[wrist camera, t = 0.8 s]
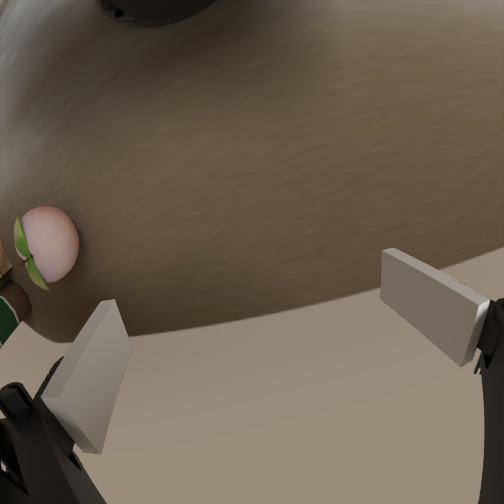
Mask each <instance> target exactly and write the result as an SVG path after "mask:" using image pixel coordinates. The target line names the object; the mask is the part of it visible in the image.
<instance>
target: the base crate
mask: <svg viewBox="0 0 504 504" xmlns="http://www.w3.org/2000/svg"><path fill="white" fill-rule="evenodd" d="M11 267H12V264H11V262H10V260H9V258H8V256H7V254H6V252H5V250H4V248H3V246H2V243H1V241H0V278H1V277H2V275H4V274H5V273H6V272H7V271H8V270H9V269H10V268H11Z"/></svg>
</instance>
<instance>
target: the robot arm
mask: <svg viewBox="0 0 504 504" xmlns="http://www.w3.org/2000/svg"><path fill="white" fill-rule="evenodd" d="M94 1H95V3H96V4H97V6H98V7H99V9H100V10H101V11H102V12H103V13H104V14H106V15H107V16H108V17H110V18H112V19H114V20H116V21H118V22H121V23H123V24H126V25H129V26H134V27H156V26H162V25H167V24H170V23H174V22H177V21H180V20H182V19H185V18H187V17H190V16H192V15H194V14H196V13H197V12H199V11H201V10H203V9H204V8H206V7H207V6H209V5H210V4H211V3H213V2H214V1H215V0H94ZM380 294H381V295H380V299H381V300H383V302H385V303H386V304H387V305H388V306H390V307H391V308H392V309H393V310H394V311H396V312H397V313H398V314H399V315H400V316H402V317H403V318H404V319H405V320H406V321H408V322H409V323H410V324H411V325H412V326H414V327H415V328H416V329H417V330H419V331H420V332H421V333H422V334H423V335H424V336H425V337H427V338H428V339H429V340H430V341H431V342H432V343H434V344H435V345H436V346H437V347H438V348H439V349H441V350H442V351H443V352H444V353H445V354H446V355H447V356H448V357H450V358H451V359H452V360H453V361H454V362H455V363H456V364H457V365H458V366H460V367H462V366H464V365H465V364H467V363H469V362H470V361H472V360H473V357H474V354H475V351H476V348H478V349H480V350H481V354H480V357H479V359H478V362H477V365H476V367H475V370H474V374H476V373H477V370H478V369H479V368H481V371H480V373H479V374H481V376H482V386H483V399H484V421H485V422H484V423H485V424H484V425H485V437H484V438H485V439H484V440H485V441H484V461H483V473H482V482H481V490H480V496H479V502H478V504H504V298H501V299H498V300H497V301H496V302H495V301H493V300H491V299H490V298H488V297H486V296H484V295H483V294H481V293H479V292H477V291H475V290H474V289H472V288H470V287H468V286H467V285H465V284H463V283H461V282H459V281H457V280H455V279H453V278H452V277H450V276H448V275H446V274H444V273H442V272H440V271H439V270H437V269H435V268H433V267H431V266H429V265H427V264H425V263H423V262H421V261H419V260H417V259H415V258H413V257H411V256H409V255H407V254H405V253H403V252H401V251H399V250H397V249H395V248H391V249H386V250H382V273H381V293H380ZM132 349H133V348H132V345H131V342H130V340H129V337H128V335H127V332H126V329H125V327H124V324H123V321H122V319H121V316H120V313H119V310H118V307H117V304H116V301H115V299H113V300H106V301H101V302H100V303H99V305H98V306H97V308H96V309H95V311H94V312H93V313H92V315H91V316H90V318H89V319H88V321H87V322H86V324H85V325H84V327H83V328H82V330H81V331H80V333H79V334H78V336H77V337H76V339H75V340H74V342H73V343H72V345H71V347H70V348H69V350H68V351H67V353H66V355H65V356H63V357H61V358H60V359H59V360H58V361H57V362H56V363H55V364H54V365H53V367H52V368H51V370H50V371H49V374H48V375H47V376H46V378H45V381H43V383H42V385H41V386H40V388H39V390H38V392H37V393H36V395H35V397H34V399H32V398H31V397H30V395H29V394H28V392H27V390H26V389H25V388H24V386H23V384H21V383H19V382H13V383H10V384H7V385H6V386H4V387H2V388H1V390H0V410H1V411H2V413H3V414H4V415H5V417H6V418H3V419H0V504H106V502H105V500H104V499H103V497H102V496H101V494H100V493H99V491H98V490H97V489H96V487H95V485H94V484H93V482H92V481H91V479H90V477H89V476H88V474H87V473H86V471H85V469H84V467H83V465H82V464H81V462H80V460H79V458H78V457H77V455H76V454H75V453H74V452H73V446H74V443H76V444H77V446H78V447H79V448H80V449H81V450H82V451H83V452H85V453H94V454H101V453H102V449H103V445H104V441H105V438H106V434H107V429H108V426H109V422H110V419H111V415H112V412H113V408H114V405H115V401H116V398H117V395H118V391H119V388H120V385H121V382H122V379H123V376H124V372H125V369H126V366H127V363H128V360H129V357H130V354H131V351H132ZM1 462H2V463H3V464H4V465H5V466H6V472H5V471H4V470H2V468H1Z"/></svg>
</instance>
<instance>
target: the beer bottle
mask: <svg viewBox="0 0 504 504" xmlns="http://www.w3.org/2000/svg"><path fill="white" fill-rule="evenodd" d="M30 310H31V305H30V302H29V299H28V296H27V295H26V293H25V292H24V291H23V290H22V288H21V287H20V286H19V285H18V284H16V283H14V282H12V281H7V282H6V283H5V284H4V285H3V286H2V287H1V288H0V348H1V347H2V345H3V344H4V343H5V341H6V340H7V339H8V338H9V336H10V335H11V334H12V332H13V331H14V330H15V329H16V327H17V326H18V325H19V324H20V322H21V321H22V320H23V319H24V318H25V316H26V315H27V314H28V312H29V311H30Z"/></svg>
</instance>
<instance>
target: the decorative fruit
mask: <svg viewBox="0 0 504 504" xmlns="http://www.w3.org/2000/svg"><path fill="white" fill-rule="evenodd" d="M14 243H15V248H16V251H17V253H18V254H19V256H20V257H21V258H22V259H23V260H24V261H23V262H22V263H21V264H20V265H21V266H23V265H24V264H26V268H27V271H28V273H29V276H30V278H31V279H32V280H33V282H34V283H35V284H36V285H38V286H39V287H41V288H43V289H45V290H49V288H48V286H47V285H46V283H52V282H55V281H58V280H60V279H61V278H63V277H64V276H65V275H66V274H67V273H68V272H69V271H70V270H71V269H72V267H73V266H74V264H75V262H76V259H77V256H78V252H79V237H78V233H77V230H76V227H75V225H74V223H73V222H72V220H71V219H70V218H69V216H68V215H67V214H66V213H64V212H63V211H62V210H60V209H58V208H55V207H50V206H41V207H37V208H34V209H32V210H30V211H28V212H27V213H26V214H25V215H24V216H23V217H22V218H21V219H20V217H19V215H18V216H17V219H16V221H15V226H14ZM49 291H50V290H49Z"/></svg>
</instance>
